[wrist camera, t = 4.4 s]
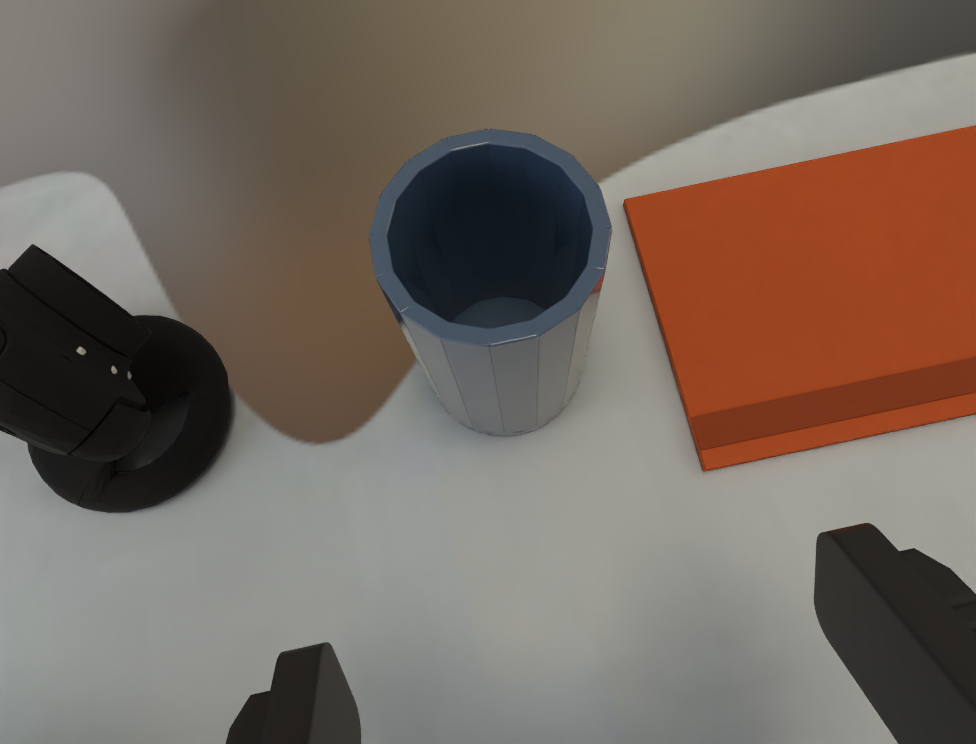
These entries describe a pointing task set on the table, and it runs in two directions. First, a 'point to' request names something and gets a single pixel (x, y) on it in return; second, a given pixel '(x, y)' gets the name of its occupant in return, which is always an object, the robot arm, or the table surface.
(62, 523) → the table surface
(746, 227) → the orange flat tray
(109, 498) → the webcam
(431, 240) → the cup
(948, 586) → the robot arm
